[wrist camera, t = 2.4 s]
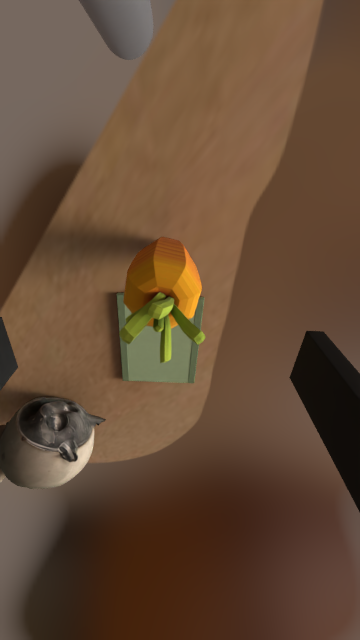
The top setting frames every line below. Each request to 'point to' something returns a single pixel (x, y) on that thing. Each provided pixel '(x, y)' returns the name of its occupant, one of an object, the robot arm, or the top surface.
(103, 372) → the top surface
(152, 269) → the carrot
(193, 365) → the tray
